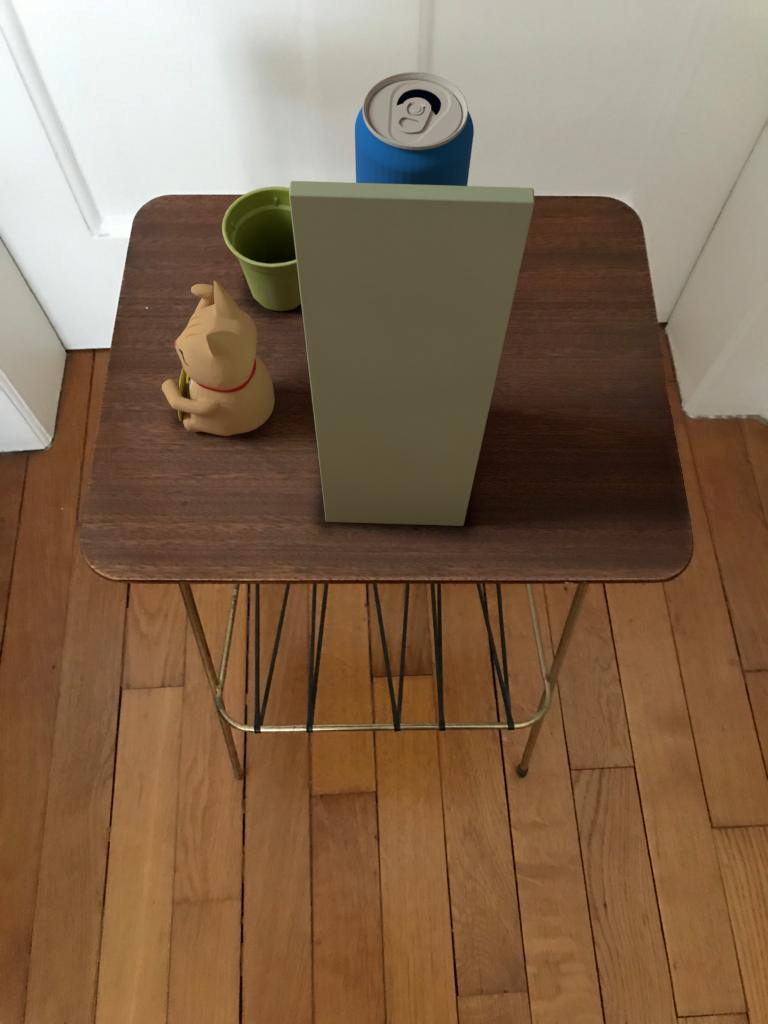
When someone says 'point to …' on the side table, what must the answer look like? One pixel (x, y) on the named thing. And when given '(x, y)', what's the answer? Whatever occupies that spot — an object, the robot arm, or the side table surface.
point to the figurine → (220, 369)
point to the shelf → (404, 337)
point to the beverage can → (414, 132)
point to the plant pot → (265, 246)
